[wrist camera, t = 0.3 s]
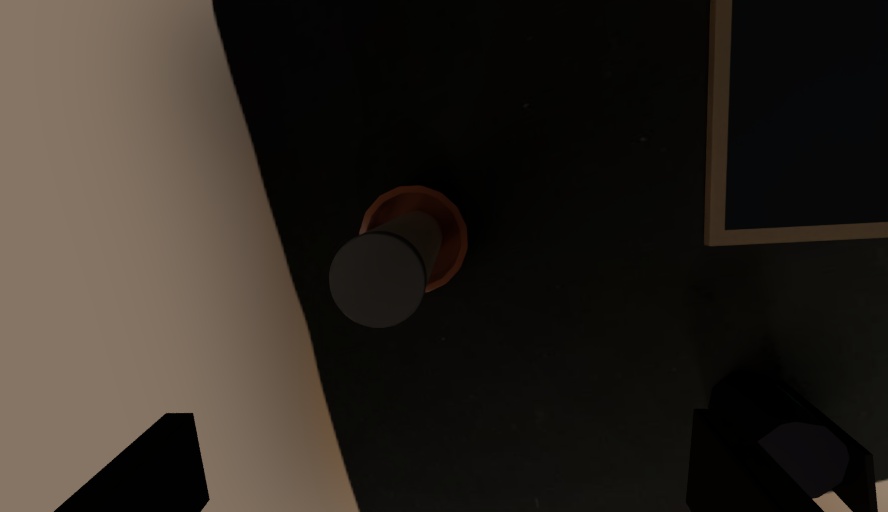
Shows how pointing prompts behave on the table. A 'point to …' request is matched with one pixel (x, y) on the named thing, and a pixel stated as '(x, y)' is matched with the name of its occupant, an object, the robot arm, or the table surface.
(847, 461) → the speaker
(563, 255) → the table surface
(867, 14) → the picture frame
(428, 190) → the bowl
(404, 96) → the table surface
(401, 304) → the grey-capped cream cylinder
